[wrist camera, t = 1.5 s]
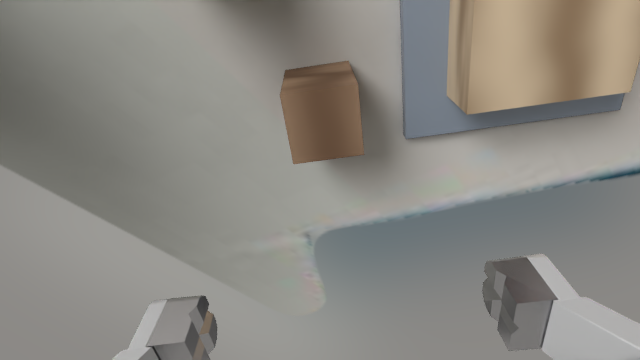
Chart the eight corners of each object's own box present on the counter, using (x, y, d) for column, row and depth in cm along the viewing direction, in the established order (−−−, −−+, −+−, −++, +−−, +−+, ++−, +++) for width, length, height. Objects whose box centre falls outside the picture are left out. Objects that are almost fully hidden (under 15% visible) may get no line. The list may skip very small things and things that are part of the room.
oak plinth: (443, 92, 28) (467, 114, 23) (447, -69, 23) (479, -76, 18) (580, 72, 27) (630, 91, 23) (616, -96, 22) (688, -110, 18)
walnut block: (296, 128, 29) (293, 164, 24) (285, 69, 26) (280, 95, 21) (353, 120, 29) (364, 154, 23) (348, 60, 26) (358, 84, 21)
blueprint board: (403, 134, 29) (405, 139, 28) (396, -123, 21) (399, -126, 20) (612, 106, 28) (620, 109, 28) (686, -171, 20) (699, -176, 20)
